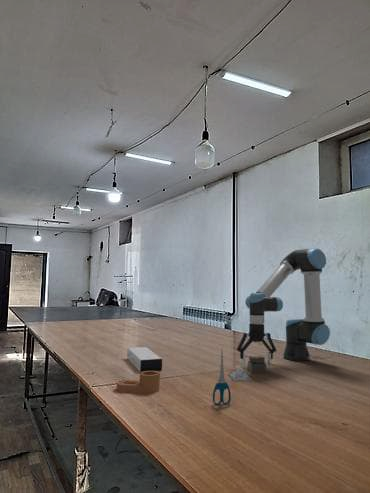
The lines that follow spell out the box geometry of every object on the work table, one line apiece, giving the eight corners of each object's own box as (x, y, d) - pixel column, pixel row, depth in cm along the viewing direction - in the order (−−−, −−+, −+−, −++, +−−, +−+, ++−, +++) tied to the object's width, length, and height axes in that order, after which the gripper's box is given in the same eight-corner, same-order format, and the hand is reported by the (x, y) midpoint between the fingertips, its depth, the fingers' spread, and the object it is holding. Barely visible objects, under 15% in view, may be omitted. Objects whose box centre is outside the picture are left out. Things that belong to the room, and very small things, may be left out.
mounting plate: (244, 374, 181) (244, 363, 181) (250, 380, 169) (250, 369, 169) (228, 374, 180) (228, 363, 180) (233, 380, 168) (233, 369, 169)
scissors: (213, 405, 135) (214, 350, 137) (212, 404, 136) (213, 349, 138) (230, 404, 137) (230, 349, 138) (229, 403, 138) (229, 348, 139)
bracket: (160, 387, 157) (160, 371, 158) (157, 393, 149) (158, 376, 149) (119, 386, 158) (119, 369, 159) (114, 391, 150) (114, 374, 151)
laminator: (162, 371, 186) (162, 358, 186) (138, 373, 182) (138, 360, 182) (146, 357, 218) (146, 346, 218) (125, 358, 213) (125, 347, 214)
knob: (262, 369, 191) (261, 354, 192) (266, 373, 183) (266, 357, 184) (247, 369, 190) (247, 354, 191) (251, 373, 182) (251, 357, 183)
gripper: (277, 322, 194) (277, 364, 192) (231, 322, 191) (230, 363, 189) (282, 324, 186) (282, 367, 184) (234, 323, 184) (234, 367, 182)
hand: (256, 365), depth 187 cm, fingers open, 13 cm apart
